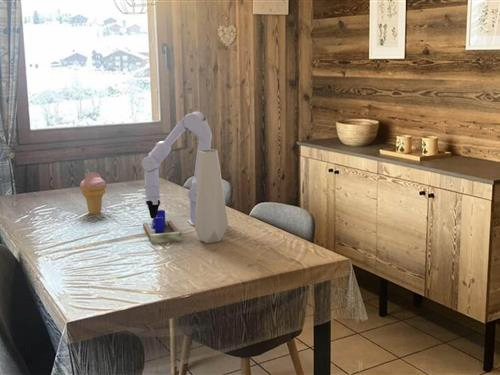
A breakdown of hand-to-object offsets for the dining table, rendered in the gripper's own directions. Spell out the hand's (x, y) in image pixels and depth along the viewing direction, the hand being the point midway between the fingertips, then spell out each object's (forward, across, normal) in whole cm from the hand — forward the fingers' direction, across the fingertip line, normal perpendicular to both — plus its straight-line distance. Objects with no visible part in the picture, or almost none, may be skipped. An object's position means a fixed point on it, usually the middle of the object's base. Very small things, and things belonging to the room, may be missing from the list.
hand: (153, 218), depth 248 cm
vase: (+1, +33, +16) cm, 37 cm away
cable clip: (+2, +12, 0) cm, 12 cm away
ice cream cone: (+1, -21, -22) cm, 30 cm away
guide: (+1, +19, 0) cm, 19 cm away
